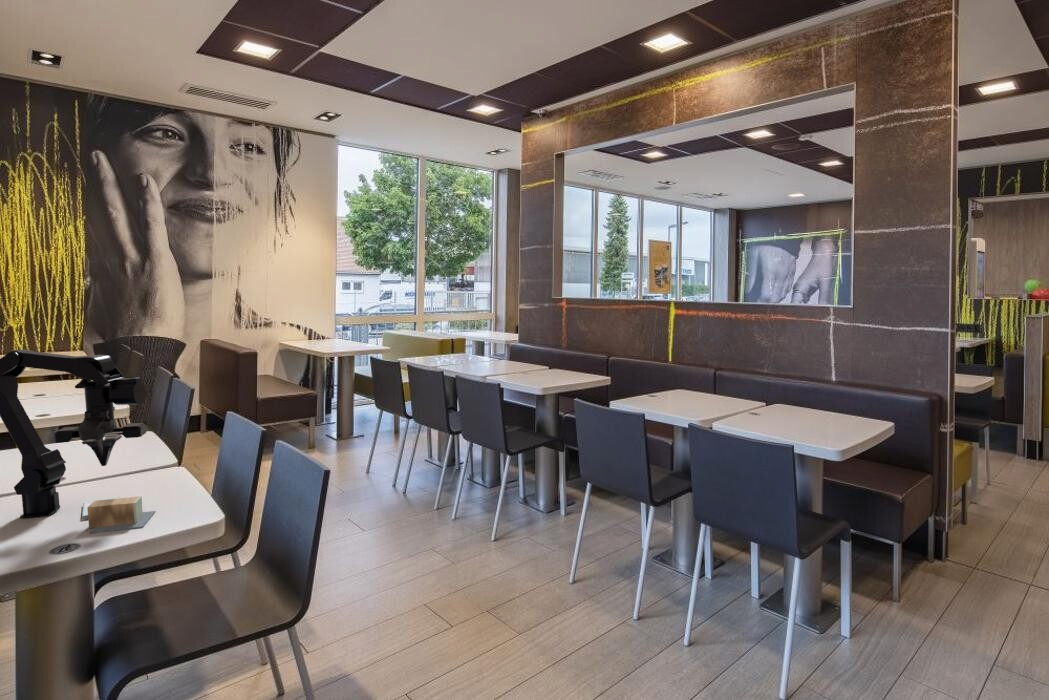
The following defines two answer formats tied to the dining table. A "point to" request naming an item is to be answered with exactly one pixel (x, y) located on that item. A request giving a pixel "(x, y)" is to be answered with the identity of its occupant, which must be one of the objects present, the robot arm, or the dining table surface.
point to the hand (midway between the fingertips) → (104, 465)
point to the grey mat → (139, 524)
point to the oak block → (115, 511)
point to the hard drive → (85, 509)
